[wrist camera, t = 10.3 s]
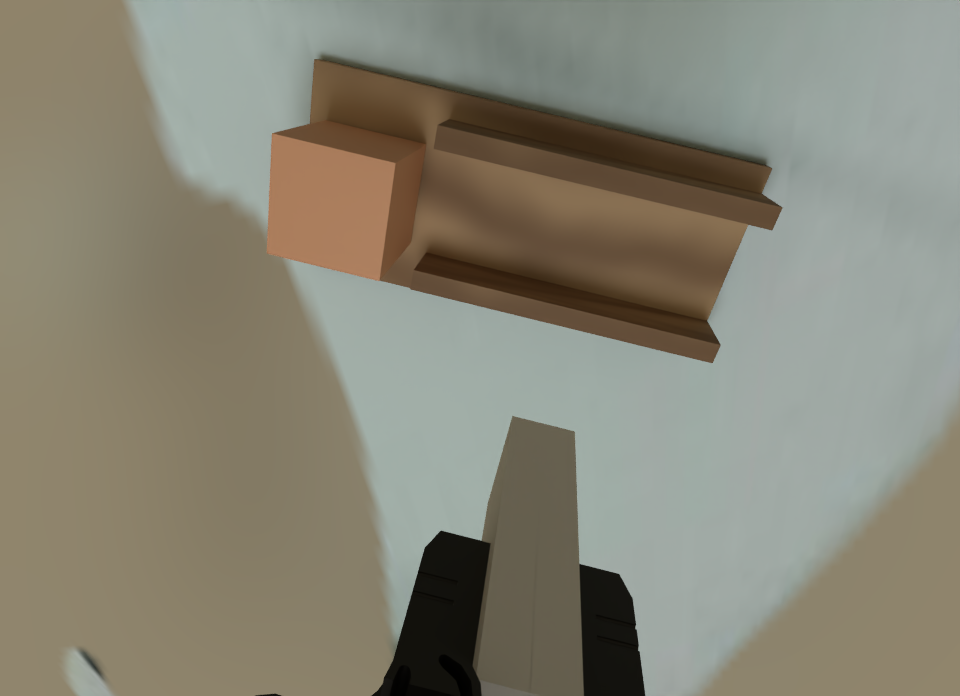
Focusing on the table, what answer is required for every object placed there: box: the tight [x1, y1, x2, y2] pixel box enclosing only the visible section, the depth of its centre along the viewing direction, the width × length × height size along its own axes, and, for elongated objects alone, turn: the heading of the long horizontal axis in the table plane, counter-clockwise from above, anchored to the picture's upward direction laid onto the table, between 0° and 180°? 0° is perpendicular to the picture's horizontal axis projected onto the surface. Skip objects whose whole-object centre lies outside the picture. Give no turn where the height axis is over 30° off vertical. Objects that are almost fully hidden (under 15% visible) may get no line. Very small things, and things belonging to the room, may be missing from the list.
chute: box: [310, 59, 782, 363], centre depth 34 cm, size 12×26×4 cm, turn 78°
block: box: [267, 120, 426, 281], centre depth 32 cm, size 6×6×7 cm
